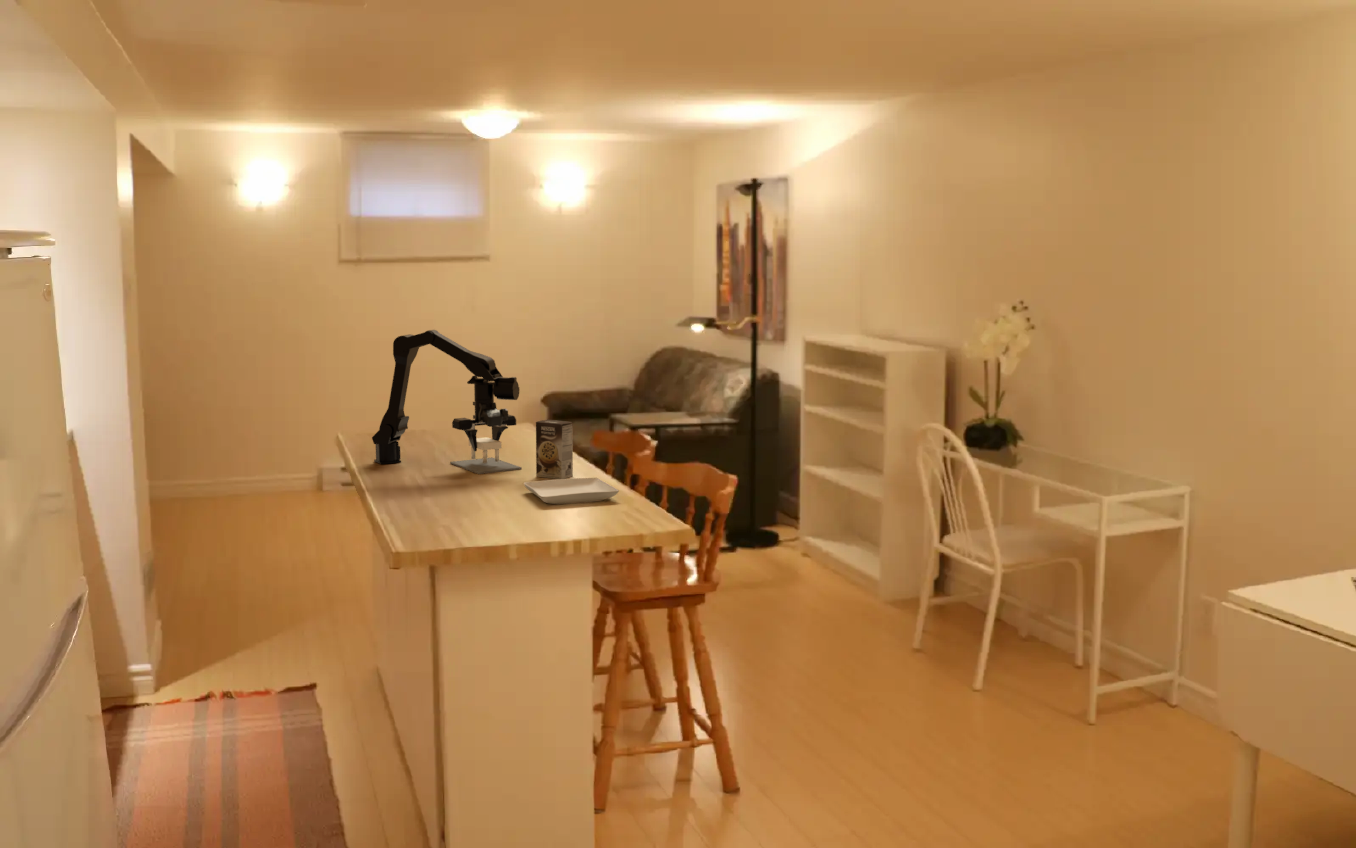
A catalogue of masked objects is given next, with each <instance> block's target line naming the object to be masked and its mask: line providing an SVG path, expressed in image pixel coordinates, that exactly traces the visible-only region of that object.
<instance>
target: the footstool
mask: <svg viewBox="0 0 1356 848" xmlns="http://www.w3.org/2000/svg"><path fill="white" fill-rule="evenodd" d="M476 440H477V450H481V451H482V458H483V463H487V458H489V456H488V451H490V450H494V458H495V462H499V460H500V450H501V449H502V441H500V440H499V441H497V440H494V439H492V437H491V438H490V437H487V436H486V437H476ZM468 446H469V447H470V449H471V451H470V452H471V453H470V455H471V460H472V459H477V458H476V451H474V450H473V447H472V445H471V443H470V440H469V439H468Z"/></svg>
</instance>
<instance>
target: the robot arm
mask: <svg viewBox="0 0 1356 848" xmlns="http://www.w3.org/2000/svg"><path fill="white" fill-rule="evenodd" d="M428 345H431V346H432V347H434V348H436V349H437V350H440V351H441V352H443V353H445V354H446V355H447V356H450V357H451V358H453V359H455V360H457V361H458V362H460V363H461V364H462V365H464V367H465V368H466V369H467V370H468V371H469V372H470V373H471V374H473V375H472V376H471V378H470V379H469V380H468V381H467V384H468V385H474V386H473V388H474V389H473V390H474V396H473V397H474V401H472V405H473V406H474V414H473V415H472V419H470V418H467V417H457V418H453V420H452V423H451V424H452V425H451V427H452V428H453V429H456V430H459V431H463V432H464V434H466V436H467V438H468V441H469V440H470V443H471V445H472V447H473V450H474V451H475V452H477V450H478V448H477V440H476V438H477V433H478V429H476V426H487V427H491V439H494V440H497V441H500V439H501V437H502V434H503V432H504V431H505V430H507V429H509V427H510V426H517V418H516V416H515V415H512V414H509V410H508V409H507V408H500V409H497V402H494V401H495V398H496V399H497V400H501V401H502V400H505V401H506V400H508V401H517V400H518V399H519V395H520V387H519V383H518V381H517V377H516V376H511V377H504V376H503V375H502V373H501V372H500V371H499V368H497V366H496V362H495V359H493V358H492V357H490V356H488V355H486V354H482V353H480V352H475V351H473V350H469V349H468V348H466V347H464V346H463V345H461V344H459V343H458V342H457V341H455V340H452V339H450V338H449V337H448V336H447V337H446V336H445V335H443V334H442V333H440V332H439V331H438V330H437V329H429V330H426V331H424V332H422V333H418V334H412V333H411V334H404V335H400V336H397V337H395V338H394V340H393V343H392V355H393V358H394V371H393V376H392V382H391V389H390V395H389V400H388V401H389V402H388V407H387V409H386V411H385V413H384V415H383V417H382V419H381V421H380V425H379V426H378V427H379V429H378V431H377V432H376V433H375V434H374V435H372V437H371V440H372V442H373V444H374V445H375V459H374V460H373V462H375V463H378V464H379V465H386V464H387V465H388V464H394V463H395V464H397V463H402V460H401V446H400V445H399V444H400V443H399V441H400V440H401V437H402V435H403V434H404V433H406V430H408V428H409V426H408V423H409V420H410V416H409V415H405V402H406V397H407V396H406V395H407V391H408V384H409V380H410V379H409V378H410V374H411V373H410V372H411V368H412V367H411V366H412V364H413V362H414V361H415V359H416V357H417V355H418V352H419V349H420V348H421V347H424V346H428Z"/></svg>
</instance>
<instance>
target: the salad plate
mask: <svg viewBox="0 0 1356 848" xmlns="http://www.w3.org/2000/svg"><path fill="white" fill-rule="evenodd" d="M523 485H524V487H525V488H526V489H527V490H528V491H530V492H531V493H532V494H534V495H535V496H536V497H538V498H540V500H541V501H543V502H544V503H545V504H546V503H547V504H549V505H563V504H565V505H566V504H567V505H568V504H580V503H592V502H594V503H595V502H601V501H604V500H608V499H611V498H613V497H614V496H616V495H618V493H619V492H620V490H619V489H617V488H616V487H615V486H613V485H611V484H609V483H608V482H606V481H604V480H602V479H601V478H599V477H577V478H576V477H575V478H574V477H573V478H572V477H571V478H565V479H544V480H536V481H535V480H534V481H533V480H532V481H524V482H523Z"/></svg>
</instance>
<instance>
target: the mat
mask: <svg viewBox="0 0 1356 848" xmlns="http://www.w3.org/2000/svg"><path fill="white" fill-rule="evenodd" d="M449 463H450V465H452V464H453V465H452V466H456V467H457V468H461V467H462V468H461V469H463V468H464V469H463V470H466V471H468V472H472V473H474V474H478V475H481V474H482V475H483V474H484V473H485V474H491V473H500V472H501V473H502V472H509V471H517V470H518V471H519V470H522V466H519V465H516V464H513V463H510V462H508V461H504V460H500V459H499V462H495V457H487V463H483V457H482V458H476V459H472V458H471V459H466V460H465V459H464V460H456V461H450V462H449Z"/></svg>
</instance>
